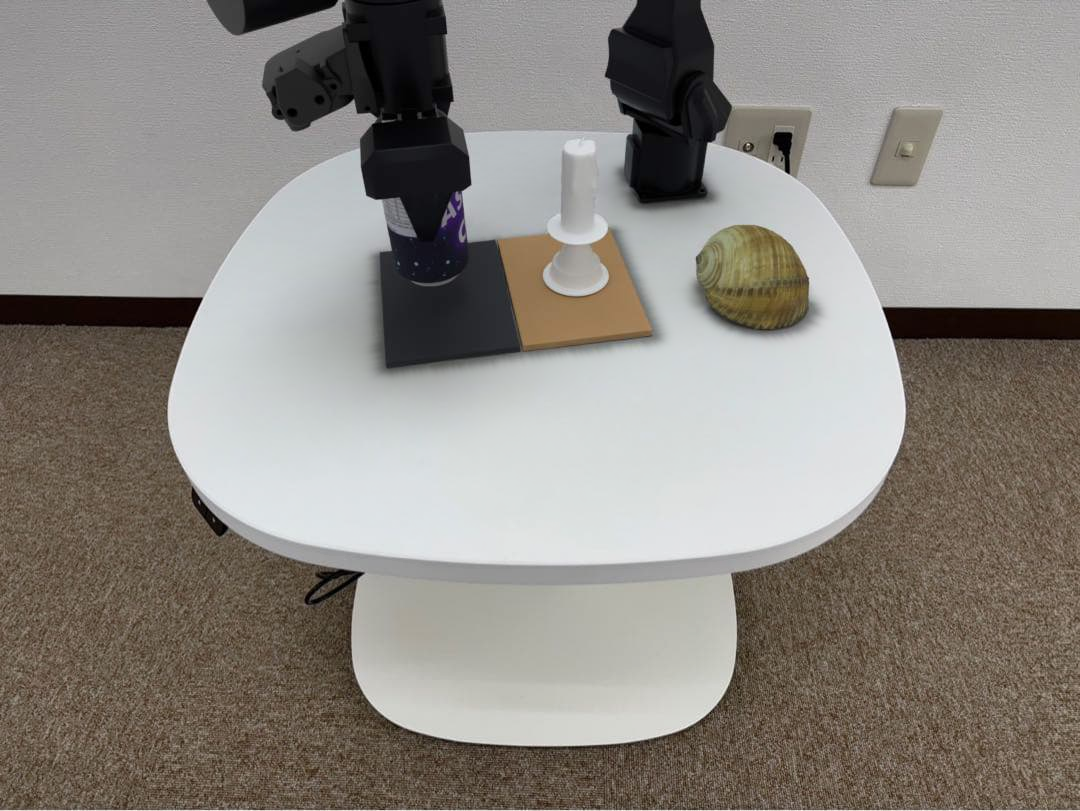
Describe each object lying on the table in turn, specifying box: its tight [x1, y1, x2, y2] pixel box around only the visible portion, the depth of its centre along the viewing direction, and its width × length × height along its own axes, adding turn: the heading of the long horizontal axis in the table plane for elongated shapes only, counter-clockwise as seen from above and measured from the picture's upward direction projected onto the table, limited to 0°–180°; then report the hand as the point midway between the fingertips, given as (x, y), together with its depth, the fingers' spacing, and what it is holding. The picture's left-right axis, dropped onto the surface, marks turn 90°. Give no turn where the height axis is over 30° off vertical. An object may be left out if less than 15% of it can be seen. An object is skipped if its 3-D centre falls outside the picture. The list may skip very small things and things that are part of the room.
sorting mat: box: [379, 227, 653, 369], centre depth 64 cm, size 20×14×1 cm
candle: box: [543, 136, 609, 297], centre depth 60 cm, size 5×5×12 cm
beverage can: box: [374, 109, 469, 286], centre depth 57 cm, size 6×6×12 cm
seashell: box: [695, 224, 810, 331], centre depth 62 cm, size 10×7×8 cm
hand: (423, 217), depth 58 cm, fingers closed on beverage can, 6 cm apart
